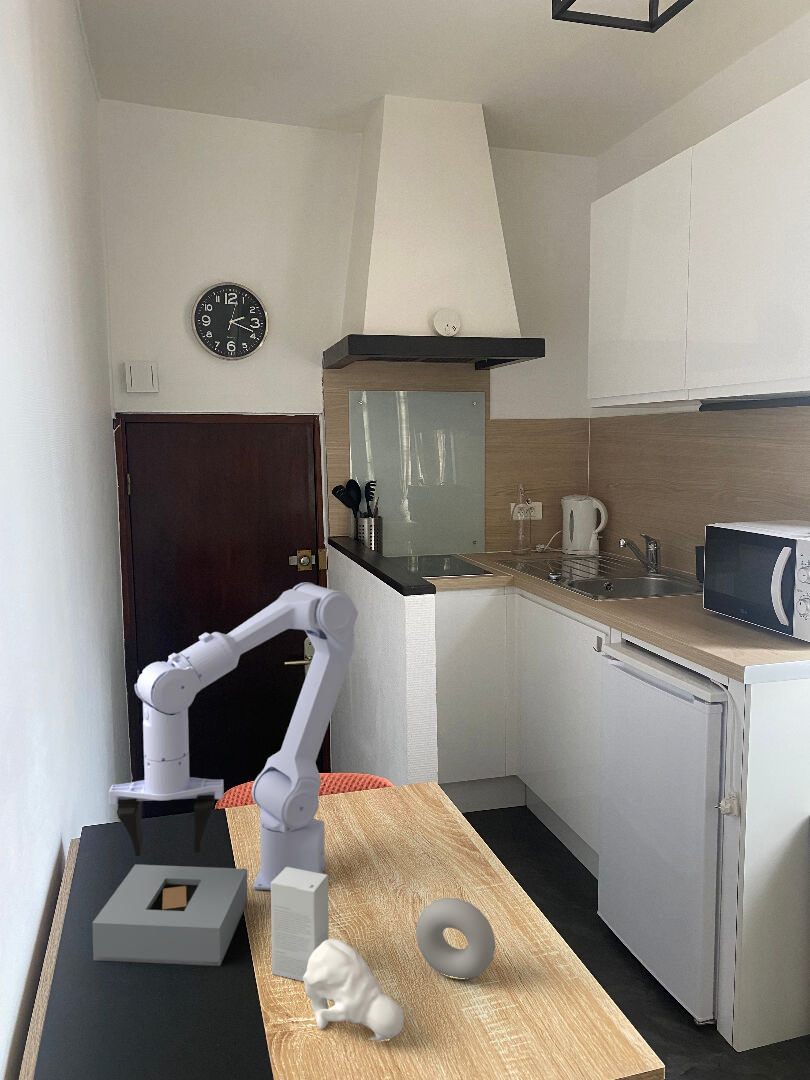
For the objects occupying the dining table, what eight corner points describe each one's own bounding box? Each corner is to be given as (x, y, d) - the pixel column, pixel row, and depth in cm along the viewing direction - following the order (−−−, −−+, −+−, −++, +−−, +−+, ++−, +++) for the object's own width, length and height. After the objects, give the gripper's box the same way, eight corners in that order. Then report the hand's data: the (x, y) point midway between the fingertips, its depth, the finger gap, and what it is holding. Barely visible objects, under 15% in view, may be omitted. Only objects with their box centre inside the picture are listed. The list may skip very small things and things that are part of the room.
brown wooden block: (186, 913, 110) (186, 885, 109) (186, 934, 105) (186, 906, 105) (163, 916, 109) (163, 888, 109) (163, 938, 104) (162, 909, 104)
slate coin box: (247, 902, 114) (247, 868, 113) (220, 965, 100) (219, 928, 99) (136, 897, 114) (135, 864, 114) (93, 960, 100) (92, 922, 100)
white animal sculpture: (334, 921, 95) (421, 966, 88) (328, 985, 96) (413, 1035, 90) (299, 949, 89) (389, 999, 83) (294, 1017, 91) (381, 1071, 84)
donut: (411, 974, 99) (412, 898, 97) (420, 958, 102) (422, 883, 101) (490, 996, 95) (492, 916, 94) (497, 978, 98) (500, 901, 97)
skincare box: (329, 964, 100) (330, 874, 99) (315, 986, 96) (315, 892, 95) (286, 954, 102) (285, 865, 101) (269, 974, 98) (269, 882, 97)
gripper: (224, 740, 111) (225, 833, 113) (115, 744, 109) (118, 839, 111) (220, 759, 105) (222, 858, 106) (104, 764, 102) (107, 865, 104)
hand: (168, 850), depth 108 cm, fingers open, 7 cm apart
